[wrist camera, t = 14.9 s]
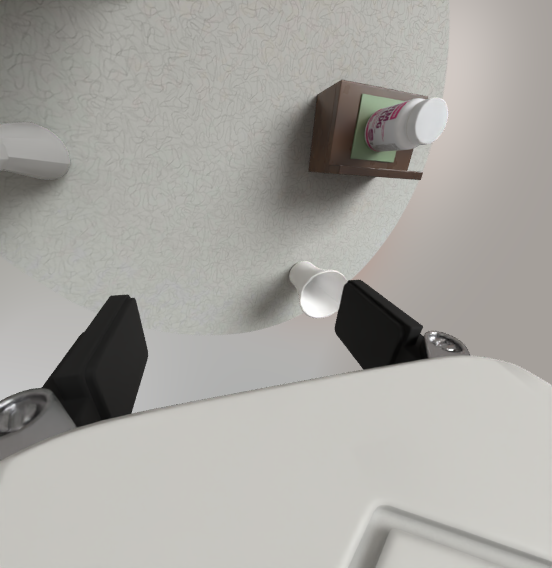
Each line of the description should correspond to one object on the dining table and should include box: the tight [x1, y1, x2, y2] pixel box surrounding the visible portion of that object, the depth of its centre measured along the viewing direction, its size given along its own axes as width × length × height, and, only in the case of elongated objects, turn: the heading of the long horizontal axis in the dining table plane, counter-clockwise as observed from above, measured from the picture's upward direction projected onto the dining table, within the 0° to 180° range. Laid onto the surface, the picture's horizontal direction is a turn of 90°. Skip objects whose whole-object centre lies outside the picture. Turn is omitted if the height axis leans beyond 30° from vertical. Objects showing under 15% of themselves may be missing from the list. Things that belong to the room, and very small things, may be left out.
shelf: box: [308, 80, 428, 180], centre depth 33 cm, size 10×13×10 cm
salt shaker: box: [0, 122, 71, 180], centre depth 23 cm, size 6×6×13 cm
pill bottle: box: [365, 97, 448, 152], centre depth 27 cm, size 5×5×8 cm
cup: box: [289, 261, 348, 318], centre depth 42 cm, size 9×9×10 cm
